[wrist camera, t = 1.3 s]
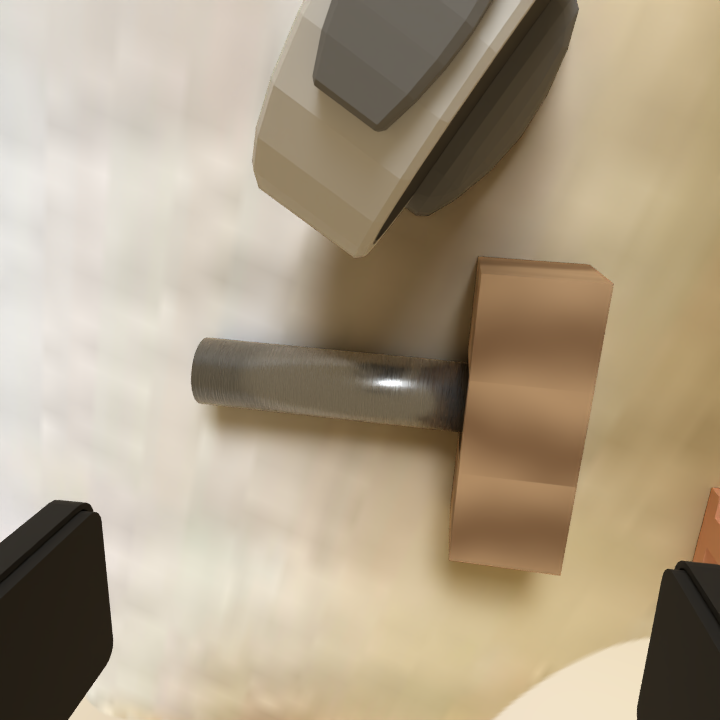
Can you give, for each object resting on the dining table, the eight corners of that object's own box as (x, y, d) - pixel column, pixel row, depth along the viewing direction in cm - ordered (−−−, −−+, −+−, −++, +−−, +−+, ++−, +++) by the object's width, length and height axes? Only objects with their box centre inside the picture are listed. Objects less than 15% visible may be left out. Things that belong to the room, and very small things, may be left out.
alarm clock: (424, 262, 35) (390, 358, 18) (277, 153, 34) (96, 145, 17) (627, -9, 30) (858, -246, 12) (457, -144, 29) (453, -585, 12)
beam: (478, 256, 34) (481, 273, 29) (589, 264, 34) (613, 283, 28) (450, 506, 39) (448, 560, 34) (546, 519, 39) (560, 575, 33)
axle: (216, 394, 40) (190, 411, 36) (217, 332, 39) (191, 343, 35) (535, 428, 37) (545, 451, 33) (544, 363, 36) (555, 379, 32)
